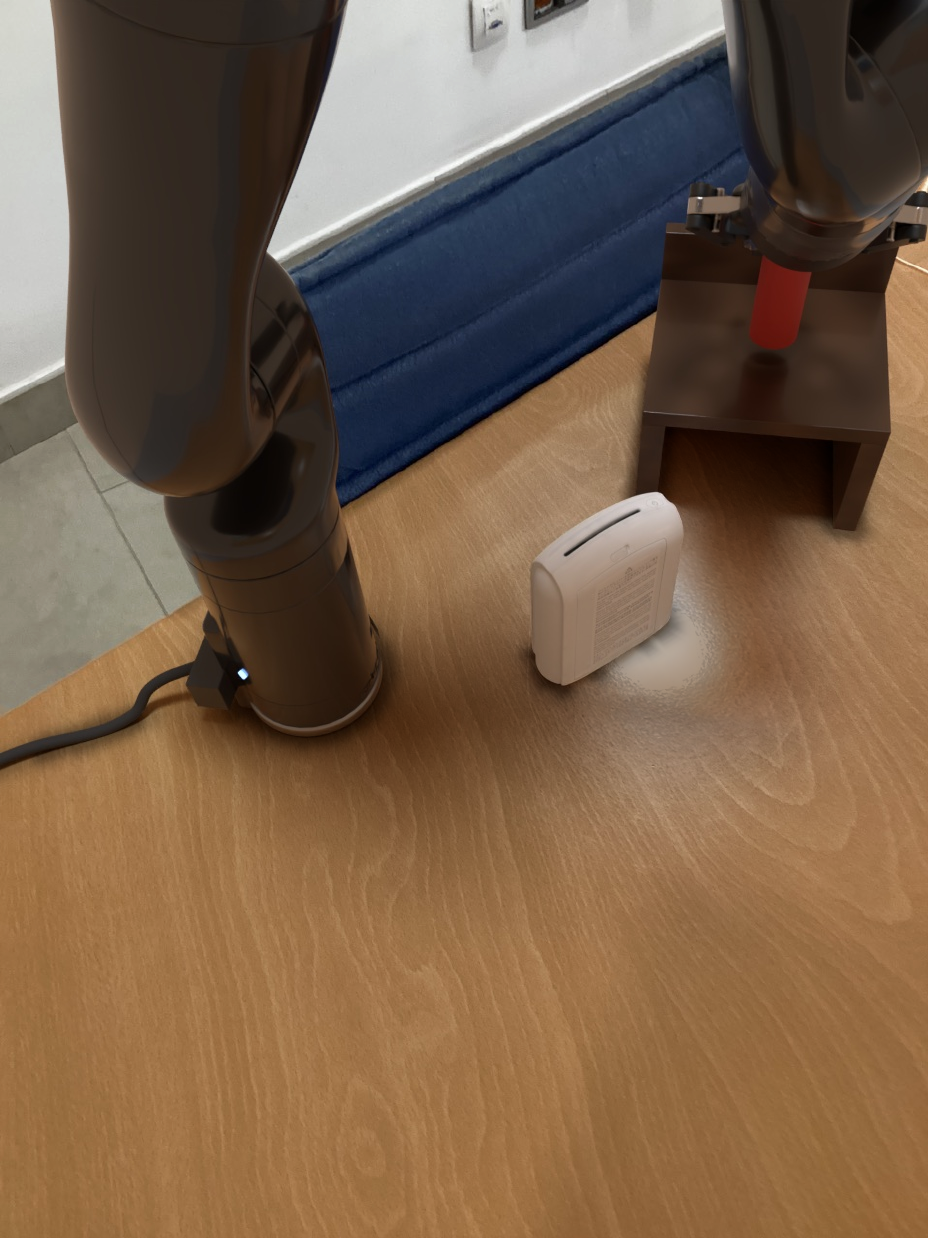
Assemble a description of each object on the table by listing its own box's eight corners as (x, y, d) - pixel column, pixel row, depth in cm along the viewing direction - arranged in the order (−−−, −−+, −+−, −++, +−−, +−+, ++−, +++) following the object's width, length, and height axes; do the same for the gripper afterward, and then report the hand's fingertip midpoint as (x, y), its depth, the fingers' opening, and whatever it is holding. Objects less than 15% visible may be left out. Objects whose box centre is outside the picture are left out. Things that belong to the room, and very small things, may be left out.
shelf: (634, 508, 80) (646, 366, 68) (652, 369, 88) (667, 221, 76) (855, 530, 77) (908, 385, 65) (853, 385, 85) (899, 234, 74)
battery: (747, 348, 72) (771, 218, 64) (749, 317, 74) (773, 187, 66) (796, 351, 71) (826, 221, 63) (797, 320, 73) (826, 189, 65)
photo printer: (640, 583, 76) (652, 463, 65) (679, 623, 73) (698, 505, 63) (522, 654, 73) (516, 541, 63) (559, 698, 71) (559, 588, 61)
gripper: (990, 103, 50) (911, 184, 67) (689, 94, 53) (685, 175, 69) (963, 268, 52) (892, 307, 68) (672, 252, 54) (671, 294, 71)
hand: (788, 240), depth 69 cm, fingers closed on battery, 3 cm apart
